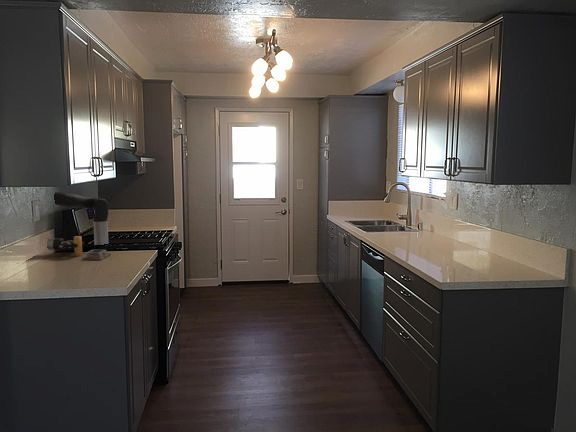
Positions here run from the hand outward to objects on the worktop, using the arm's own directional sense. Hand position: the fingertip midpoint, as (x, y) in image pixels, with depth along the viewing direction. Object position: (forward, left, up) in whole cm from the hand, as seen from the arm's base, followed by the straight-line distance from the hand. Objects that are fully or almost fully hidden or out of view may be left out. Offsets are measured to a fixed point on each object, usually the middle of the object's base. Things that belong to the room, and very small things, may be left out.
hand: (80, 244), depth 300 cm
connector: (0, -2, -7) cm, 7 cm away
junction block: (+6, +12, -7) cm, 16 cm away
